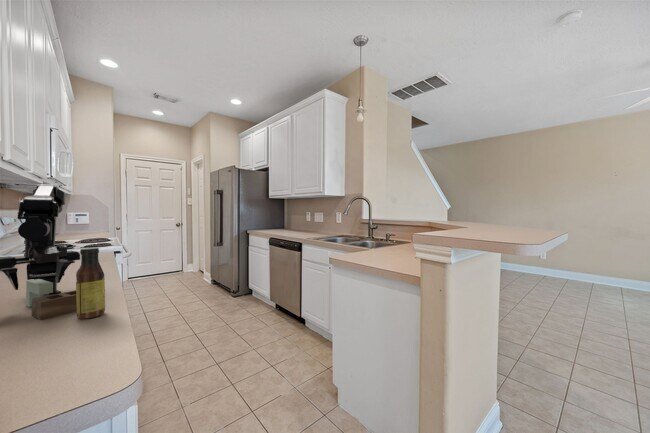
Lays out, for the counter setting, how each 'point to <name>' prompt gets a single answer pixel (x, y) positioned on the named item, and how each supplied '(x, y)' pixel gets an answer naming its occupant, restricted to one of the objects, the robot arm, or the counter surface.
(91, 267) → the sauce bottle
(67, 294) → the brown cubby organizer
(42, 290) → the green block
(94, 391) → the counter surface
